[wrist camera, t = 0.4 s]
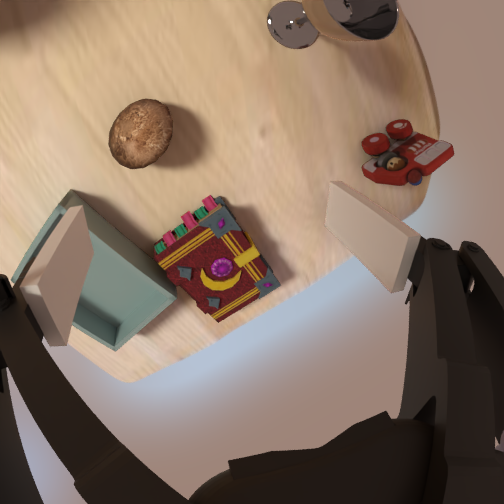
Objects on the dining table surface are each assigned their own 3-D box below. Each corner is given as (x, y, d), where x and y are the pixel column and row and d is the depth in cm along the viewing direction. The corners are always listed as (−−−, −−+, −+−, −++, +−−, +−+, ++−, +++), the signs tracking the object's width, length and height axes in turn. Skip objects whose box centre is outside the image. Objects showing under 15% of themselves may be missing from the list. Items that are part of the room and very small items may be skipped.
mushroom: (192, 160, 32) (163, 151, 26) (136, 180, 34) (102, 177, 28) (181, 99, 31) (153, 81, 25) (128, 123, 33) (96, 112, 27)
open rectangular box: (22, 260, 34) (10, 280, 30) (70, 189, 32) (58, 203, 28) (117, 329, 45) (115, 351, 40) (175, 276, 42) (177, 298, 38)
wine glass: (316, -2, 26) (389, -31, 14) (327, 50, 31) (405, 43, 18) (258, -1, 25) (312, -43, 13) (270, 54, 30) (332, 39, 18)
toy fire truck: (346, 148, 39) (392, 169, 31) (403, 113, 38) (452, 126, 30) (362, 185, 43) (405, 213, 34) (414, 149, 42) (460, 169, 33)
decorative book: (212, 305, 48) (218, 327, 43) (146, 236, 38) (145, 256, 34) (272, 268, 47) (282, 287, 43) (215, 187, 38) (221, 201, 33)
